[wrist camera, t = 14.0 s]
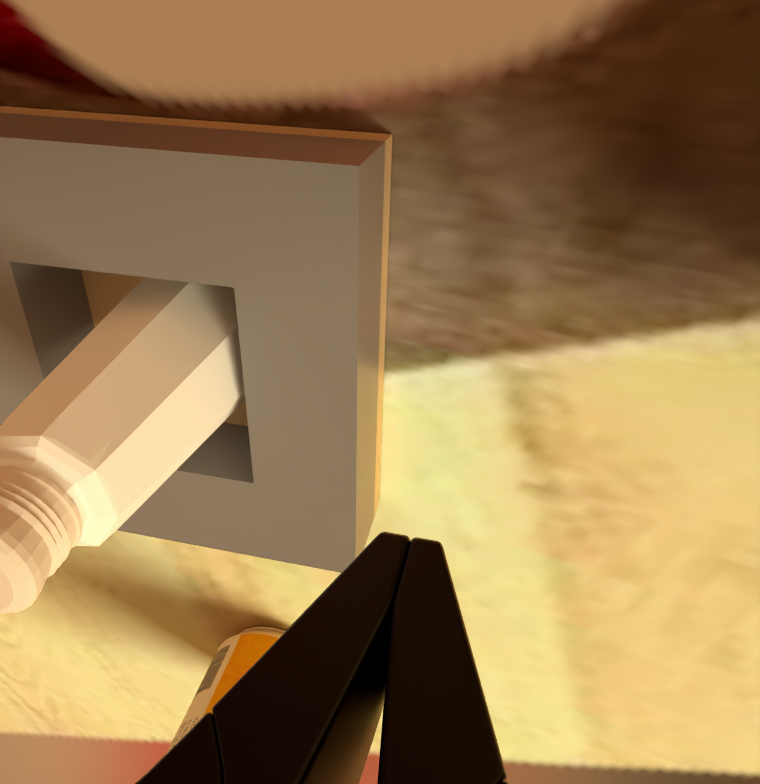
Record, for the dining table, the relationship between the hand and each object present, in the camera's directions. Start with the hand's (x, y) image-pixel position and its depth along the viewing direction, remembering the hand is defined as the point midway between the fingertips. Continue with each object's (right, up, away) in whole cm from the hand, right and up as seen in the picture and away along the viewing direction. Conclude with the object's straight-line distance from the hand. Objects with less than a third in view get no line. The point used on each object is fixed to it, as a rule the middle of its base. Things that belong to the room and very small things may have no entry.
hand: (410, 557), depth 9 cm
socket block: (-7, +5, +15) cm, 17 cm away
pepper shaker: (-7, +4, +14) cm, 16 cm away
